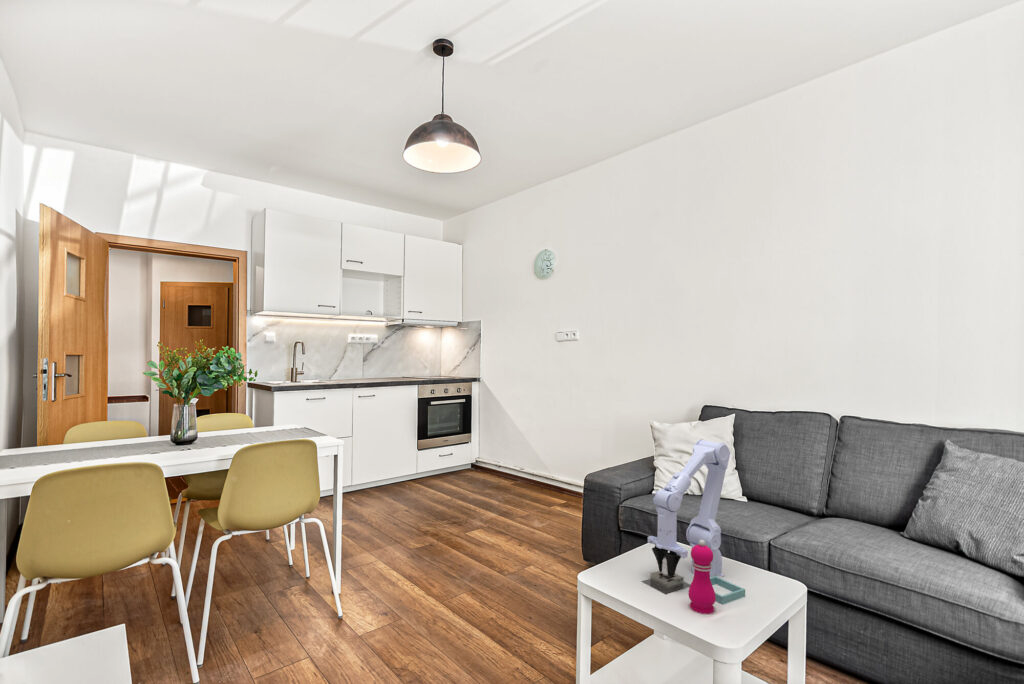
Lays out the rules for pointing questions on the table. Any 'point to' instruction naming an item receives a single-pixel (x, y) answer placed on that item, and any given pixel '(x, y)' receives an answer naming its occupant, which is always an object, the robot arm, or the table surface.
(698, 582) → the pepper mill
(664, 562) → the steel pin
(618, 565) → the table surface
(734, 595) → the tray
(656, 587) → the hitch plate
